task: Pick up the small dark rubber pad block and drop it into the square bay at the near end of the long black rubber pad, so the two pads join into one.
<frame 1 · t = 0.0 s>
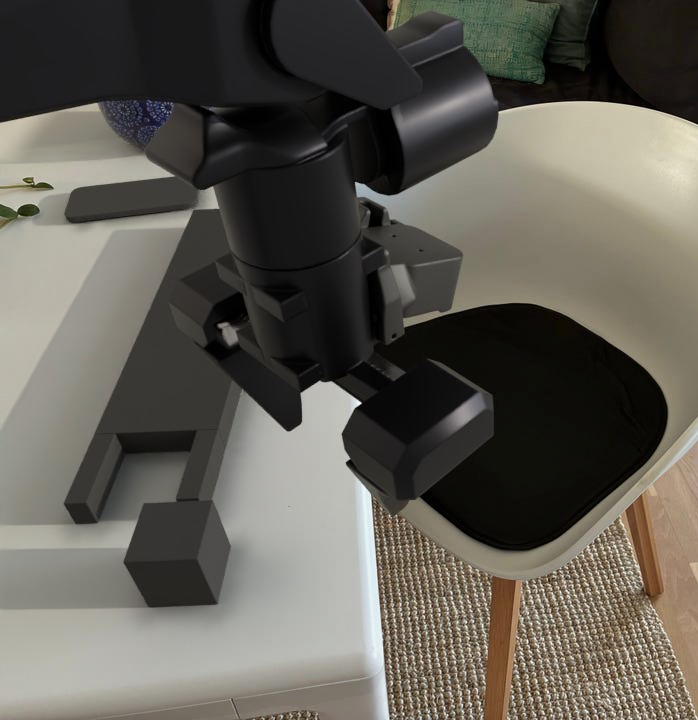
hand: (343, 466, 44), 14 cm above the table, tool pointing down, fingers open, 9 cm apart
base pad: (239, 236, 89), on the table
pad block: (191, 575, 56), on the table
planter: (174, 134, 108), on the table
phone: (135, 202, 95), on the table
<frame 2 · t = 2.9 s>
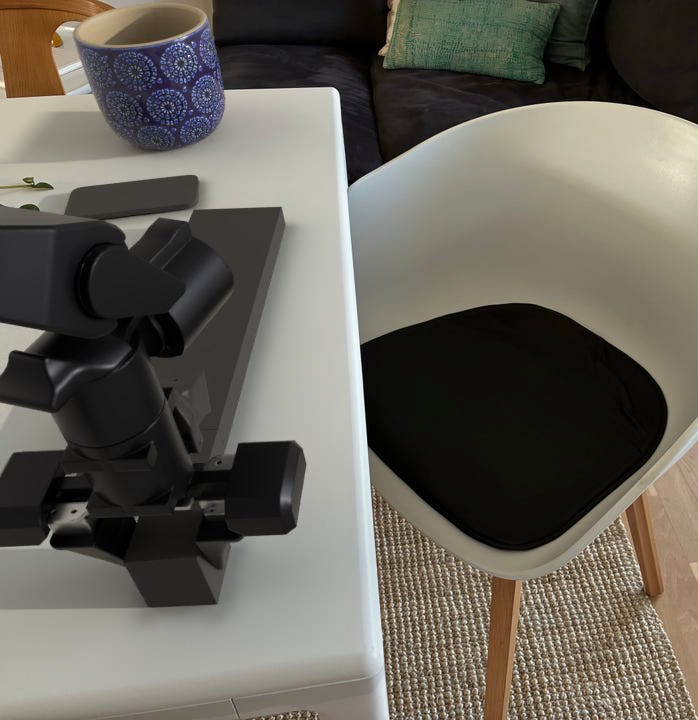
hand: (186, 565, 55), 1 cm above the table, tool pointing down, fingers closed on pad block, 5 cm apart
pad block: (191, 575, 56), on the table, touching gripper
everything else where it was.
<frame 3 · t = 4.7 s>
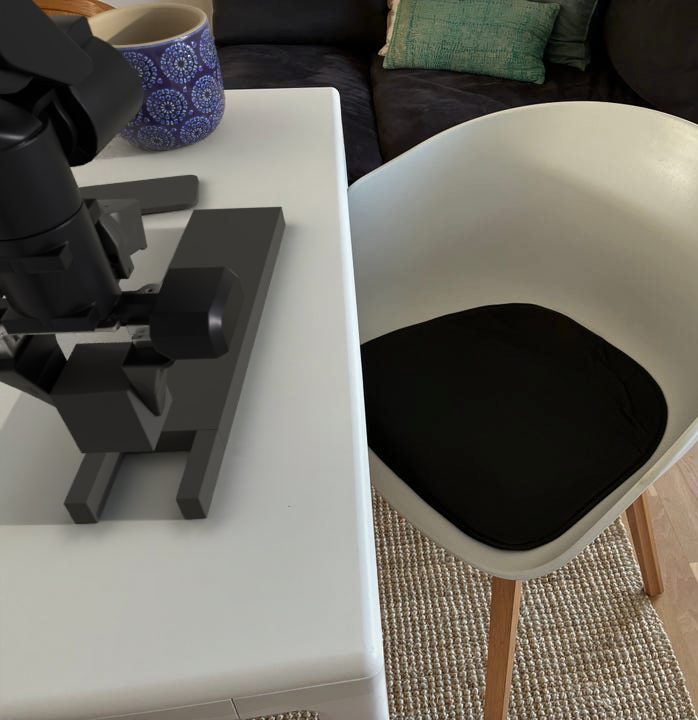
hand: (122, 412, 52), 11 cm above the table, tool pointing down, fingers closed on pad block, 5 cm apart
pad block: (128, 425, 53), point 10 cm above the table, touching gripper
everything else where it was.
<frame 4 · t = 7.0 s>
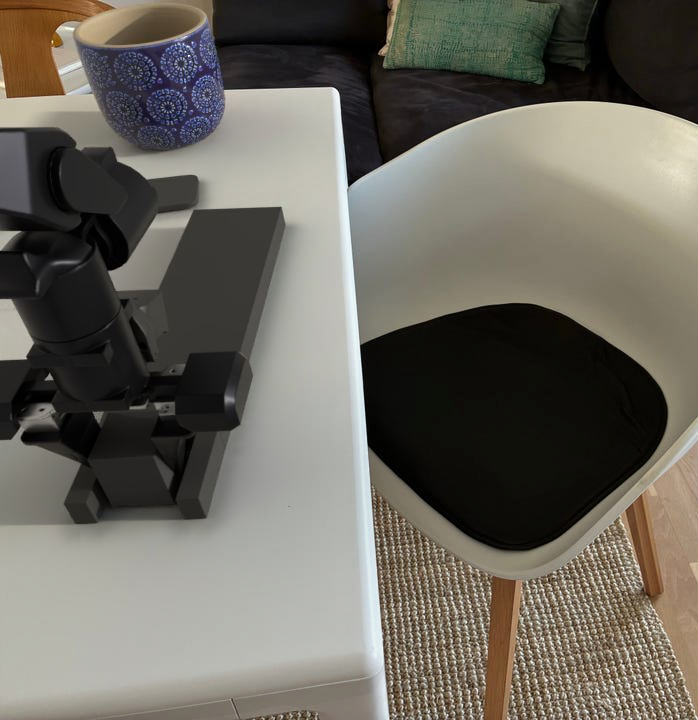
hand: (147, 470, 61), 2 cm above the table, tool pointing down, fingers closed on pad block, 5 cm apart
pad block: (152, 481, 62), on the table, touching gripper
everything else where it was.
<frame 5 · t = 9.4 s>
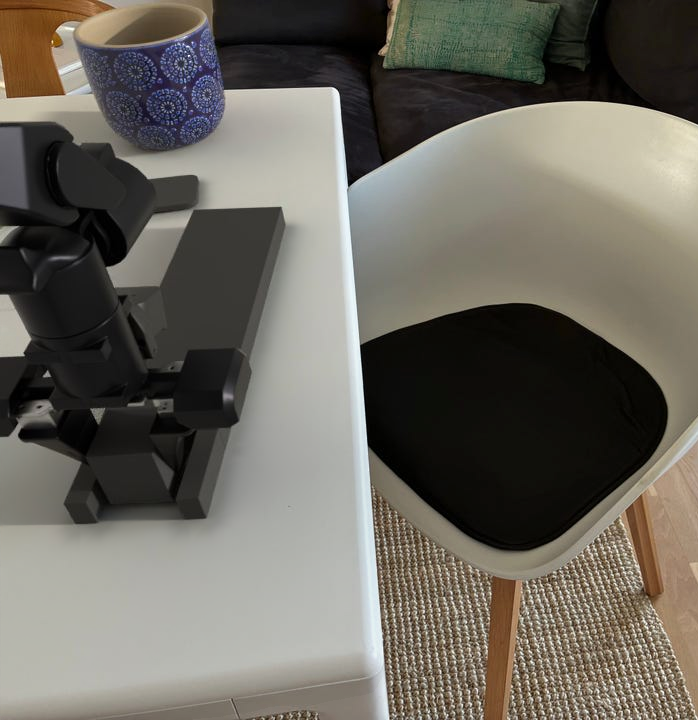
hand: (145, 468, 60), 2 cm above the table, tool pointing down, fingers closed on pad block, 5 cm apart
pad block: (150, 478, 61), point 1 cm above the table, touching gripper
everything else where it was.
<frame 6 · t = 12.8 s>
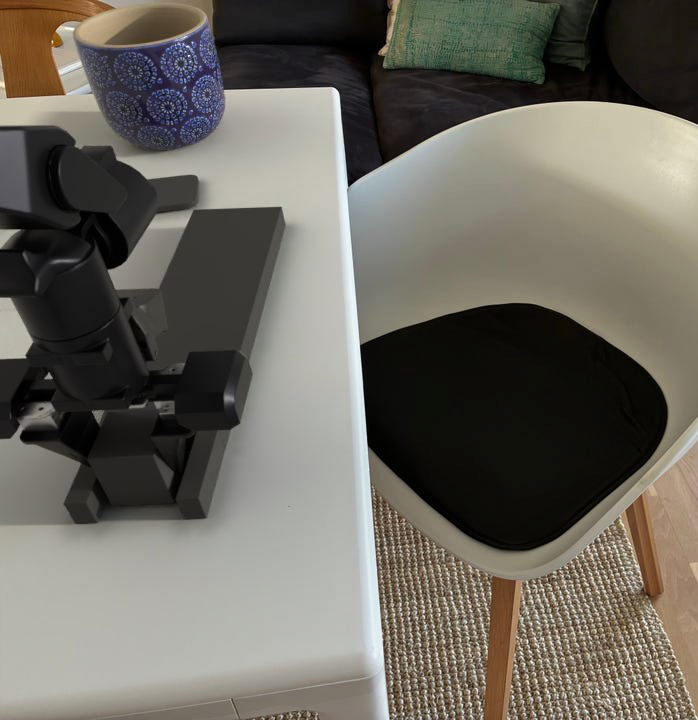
hand: (146, 469, 61), 2 cm above the table, tool pointing down, fingers closed on pad block, 5 cm apart
pad block: (151, 480, 62), point 1 cm above the table, touching gripper
everything else where it was.
when the fingers open (3 cm above the table, at t = 16.0 s): pad block drops 2 cm, on the table.
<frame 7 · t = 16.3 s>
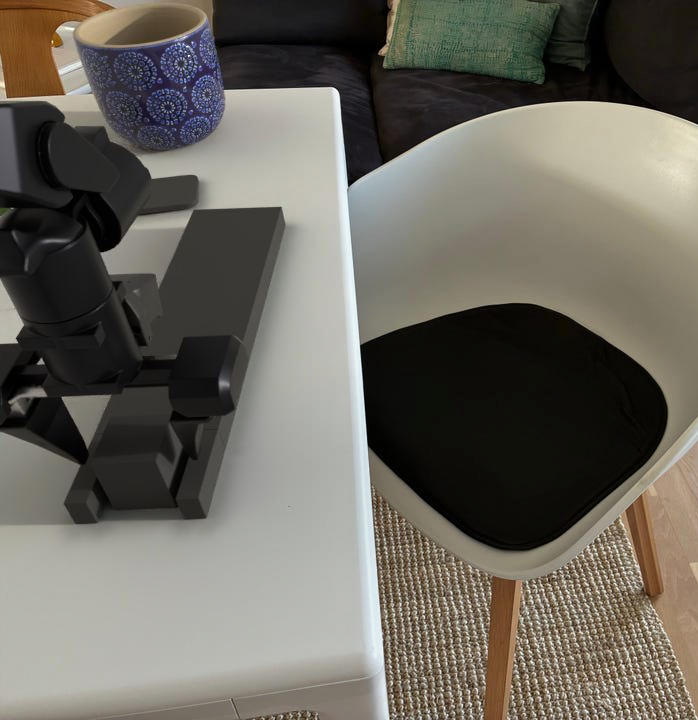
hand: (141, 457, 60), 3 cm above the table, tool pointing down, fingers open, 8 cm apart
pad block: (154, 484, 62), on the table
everything else where it was.
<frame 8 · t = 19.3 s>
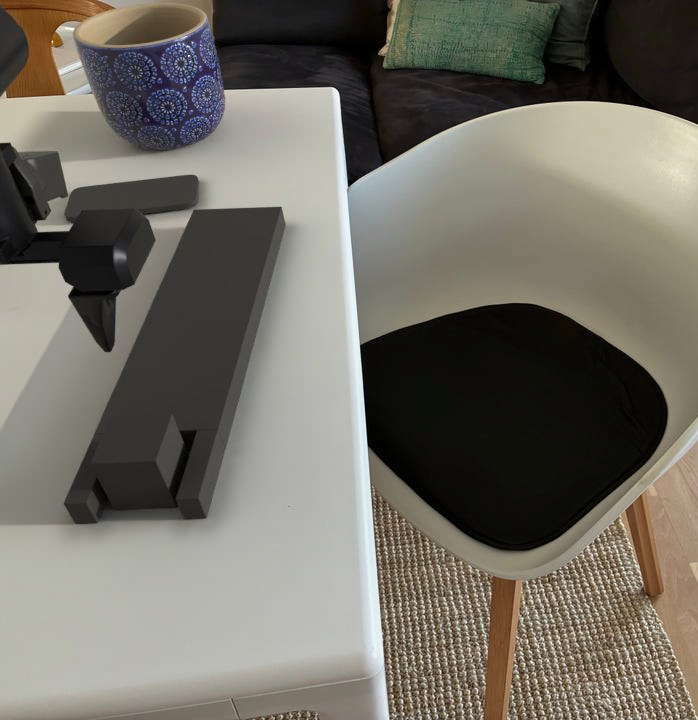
hand: (45, 350, 56), 12 cm above the table, tool pointing down, fingers open, 9 cm apart
nothing on the table moved.
at the end: pad block 0.1 cm from the target spot on the base pad, point 0.0 cm above the base pad's base; pad block tilted 0°; the gripper is holding nothing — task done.
